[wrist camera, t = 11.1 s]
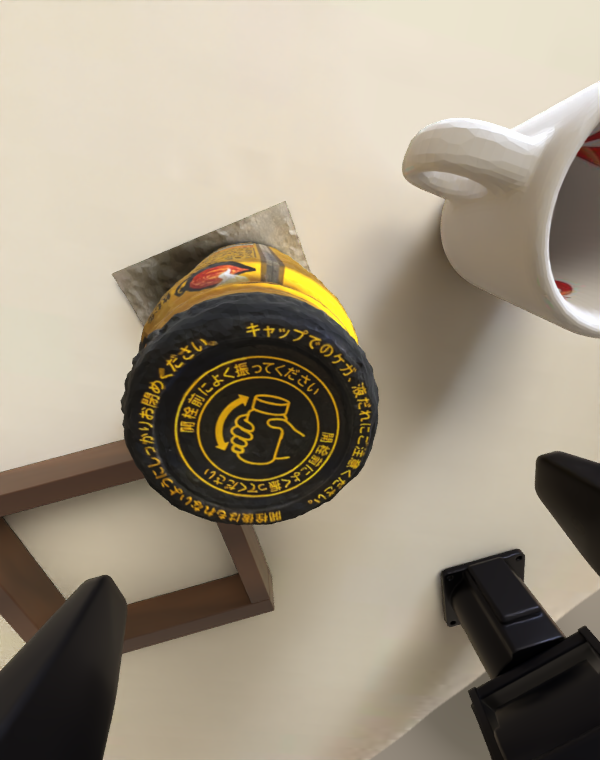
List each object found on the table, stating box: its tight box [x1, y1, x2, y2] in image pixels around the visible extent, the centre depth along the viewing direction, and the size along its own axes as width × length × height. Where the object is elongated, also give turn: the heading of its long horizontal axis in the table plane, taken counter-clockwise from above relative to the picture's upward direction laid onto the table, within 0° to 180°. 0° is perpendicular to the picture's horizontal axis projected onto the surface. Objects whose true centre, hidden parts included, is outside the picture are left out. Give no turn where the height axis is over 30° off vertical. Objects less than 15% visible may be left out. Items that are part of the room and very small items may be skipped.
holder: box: [0, 439, 274, 654], centre depth 21 cm, size 13×14×2 cm
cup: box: [402, 81, 600, 338], centre depth 14 cm, size 11×8×8 cm
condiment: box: [112, 201, 379, 525], centre depth 12 cm, size 7×8×12 cm
